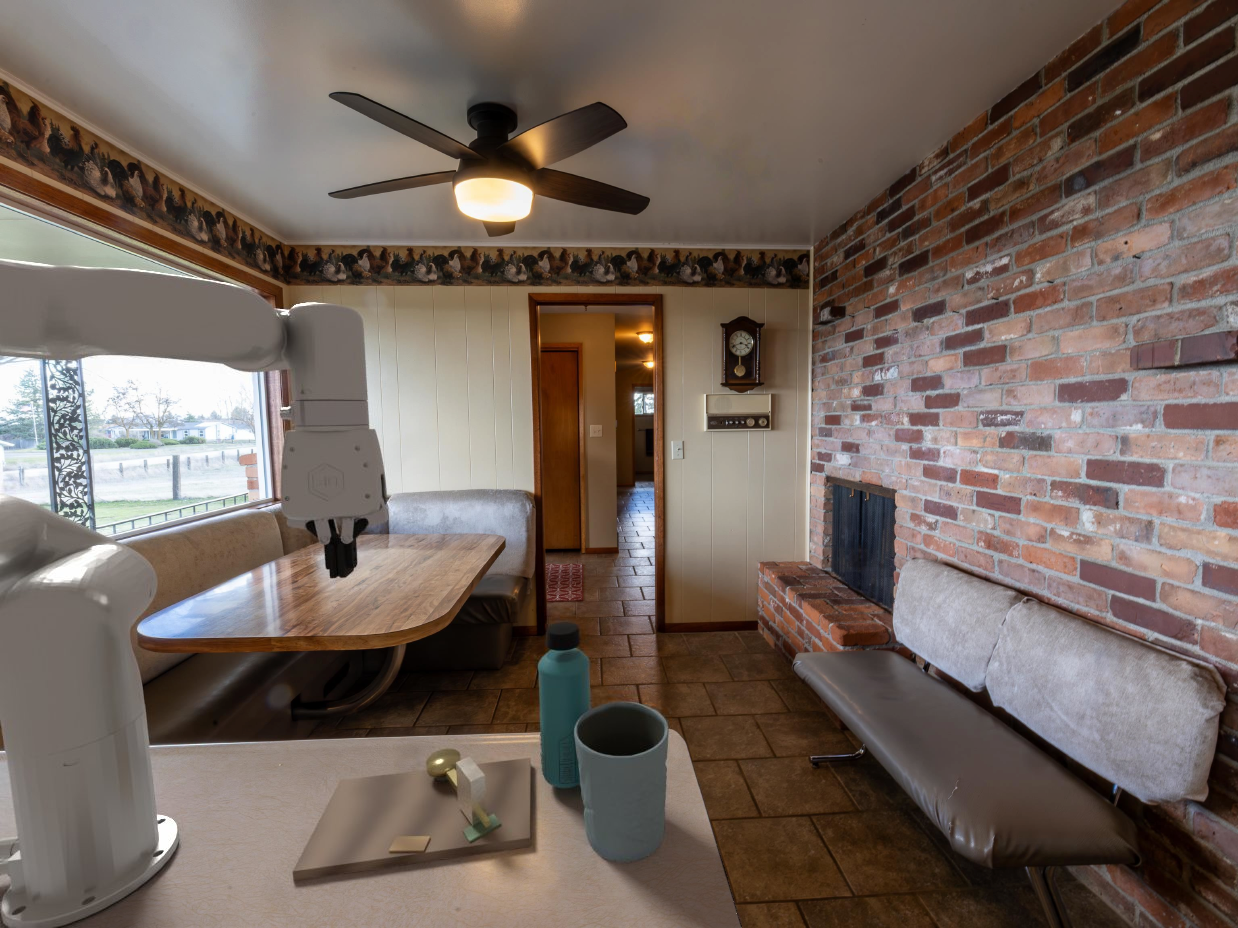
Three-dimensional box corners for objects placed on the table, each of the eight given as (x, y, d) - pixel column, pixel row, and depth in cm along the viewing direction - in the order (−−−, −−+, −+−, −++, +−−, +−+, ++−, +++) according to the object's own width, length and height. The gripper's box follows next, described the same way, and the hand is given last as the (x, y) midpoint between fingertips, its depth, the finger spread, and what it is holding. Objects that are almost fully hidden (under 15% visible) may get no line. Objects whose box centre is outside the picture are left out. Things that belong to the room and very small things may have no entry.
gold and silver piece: (422, 771, 65) (420, 732, 64) (453, 757, 67) (451, 720, 67) (470, 844, 54) (468, 798, 53) (505, 824, 56) (503, 780, 56)
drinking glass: (675, 866, 52) (675, 754, 51) (574, 872, 52) (572, 759, 51) (662, 793, 63) (661, 698, 61) (577, 797, 62) (575, 701, 61)
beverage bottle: (586, 804, 61) (582, 640, 59) (532, 797, 62) (527, 635, 60) (599, 767, 67) (596, 617, 65) (550, 761, 69) (546, 614, 67)
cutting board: (293, 880, 52) (291, 861, 51) (340, 787, 64) (339, 772, 64) (530, 846, 55) (529, 828, 55) (530, 764, 68) (530, 750, 68)
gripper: (241, 418, 55) (255, 589, 56) (392, 417, 57) (401, 581, 59) (276, 418, 62) (288, 568, 64) (409, 416, 64) (416, 562, 66)
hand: (342, 574), depth 61 cm, fingers closed
